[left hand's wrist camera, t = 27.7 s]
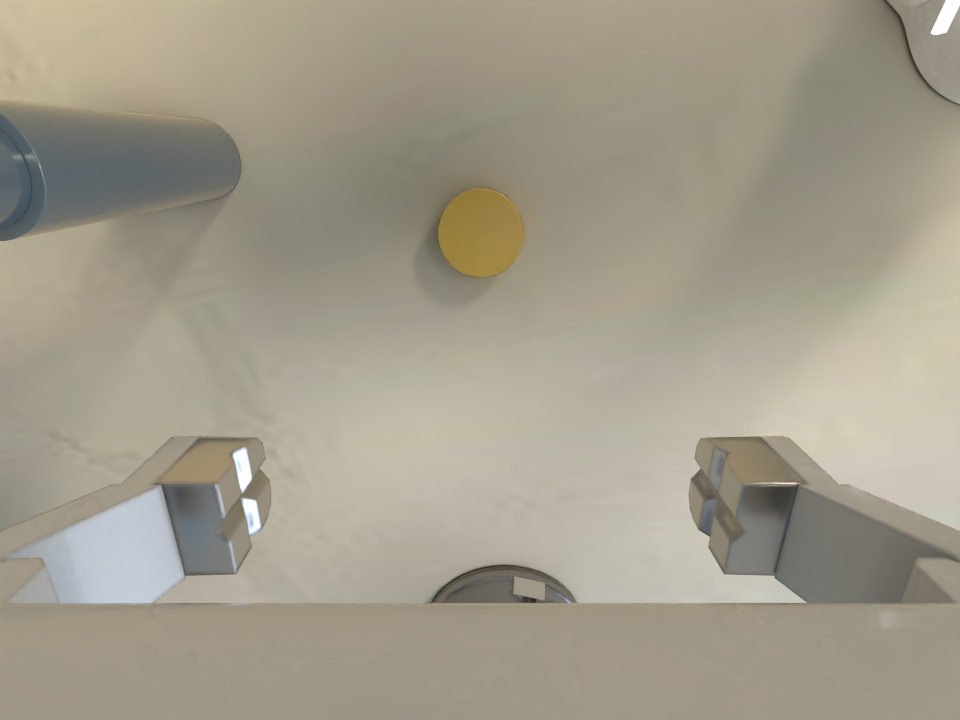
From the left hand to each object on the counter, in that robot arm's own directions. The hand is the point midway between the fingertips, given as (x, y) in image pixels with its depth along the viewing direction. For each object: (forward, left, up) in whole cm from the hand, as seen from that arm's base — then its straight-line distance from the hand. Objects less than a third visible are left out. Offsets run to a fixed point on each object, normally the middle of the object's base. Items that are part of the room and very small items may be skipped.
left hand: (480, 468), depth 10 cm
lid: (0, 0, -29) cm, 29 cm away
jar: (-3, -19, -31) cm, 37 cm away
